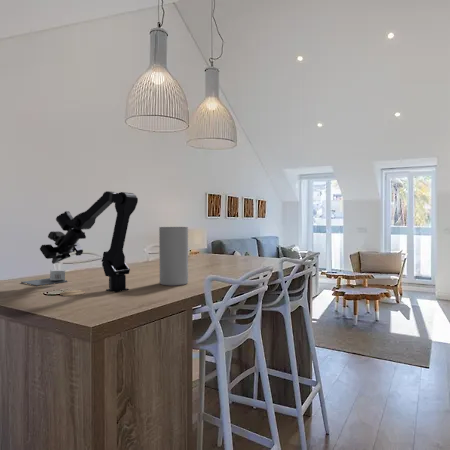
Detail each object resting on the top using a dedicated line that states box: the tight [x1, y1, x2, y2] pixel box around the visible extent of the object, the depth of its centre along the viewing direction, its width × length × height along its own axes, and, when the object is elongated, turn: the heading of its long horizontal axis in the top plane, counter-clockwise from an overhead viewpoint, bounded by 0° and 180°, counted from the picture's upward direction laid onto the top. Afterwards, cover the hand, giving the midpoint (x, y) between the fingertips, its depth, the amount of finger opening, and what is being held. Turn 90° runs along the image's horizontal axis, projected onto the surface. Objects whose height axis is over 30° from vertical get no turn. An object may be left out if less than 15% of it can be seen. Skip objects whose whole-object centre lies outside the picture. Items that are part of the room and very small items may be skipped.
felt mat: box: [22, 277, 68, 287], centre depth 168 cm, size 14×14×1 cm
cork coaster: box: [59, 290, 86, 297], centre depth 142 cm, size 9×9×1 cm
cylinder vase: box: [158, 226, 189, 287], centre depth 164 cm, size 12×12×25 cm
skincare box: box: [49, 269, 66, 280], centre depth 171 cm, size 6×4×12 cm
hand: (53, 263), depth 164 cm, fingers closed
